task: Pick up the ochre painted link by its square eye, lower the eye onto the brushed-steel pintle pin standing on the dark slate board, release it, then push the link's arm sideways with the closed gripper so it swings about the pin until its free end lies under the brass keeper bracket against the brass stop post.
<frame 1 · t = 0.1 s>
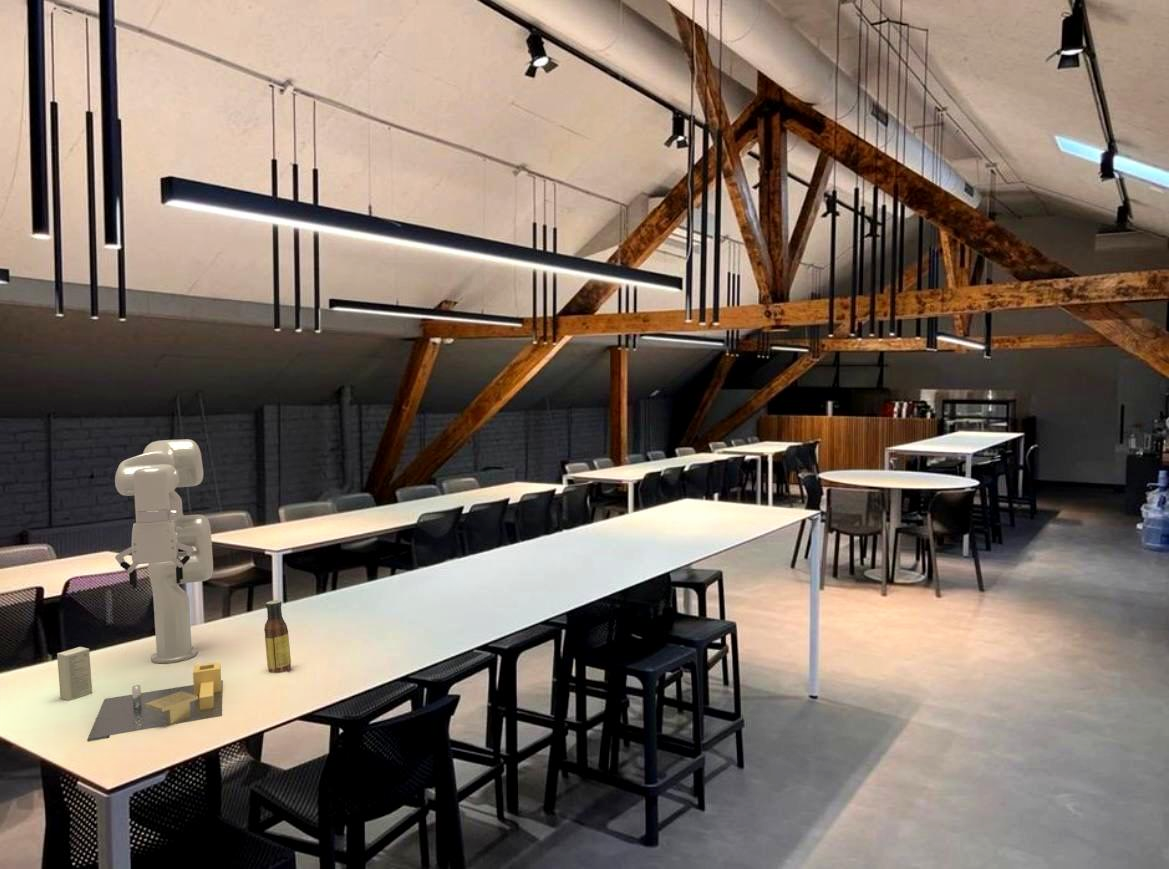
hand: (157, 585, 202), 31 cm above the table, fingers open, 9 cm apart
skincare box: (76, 696, 214), on the table
pintle board: (164, 704, 206), on the table
sauce bottle: (279, 671, 229), on the table
link: (206, 708, 200), resting on pintle board
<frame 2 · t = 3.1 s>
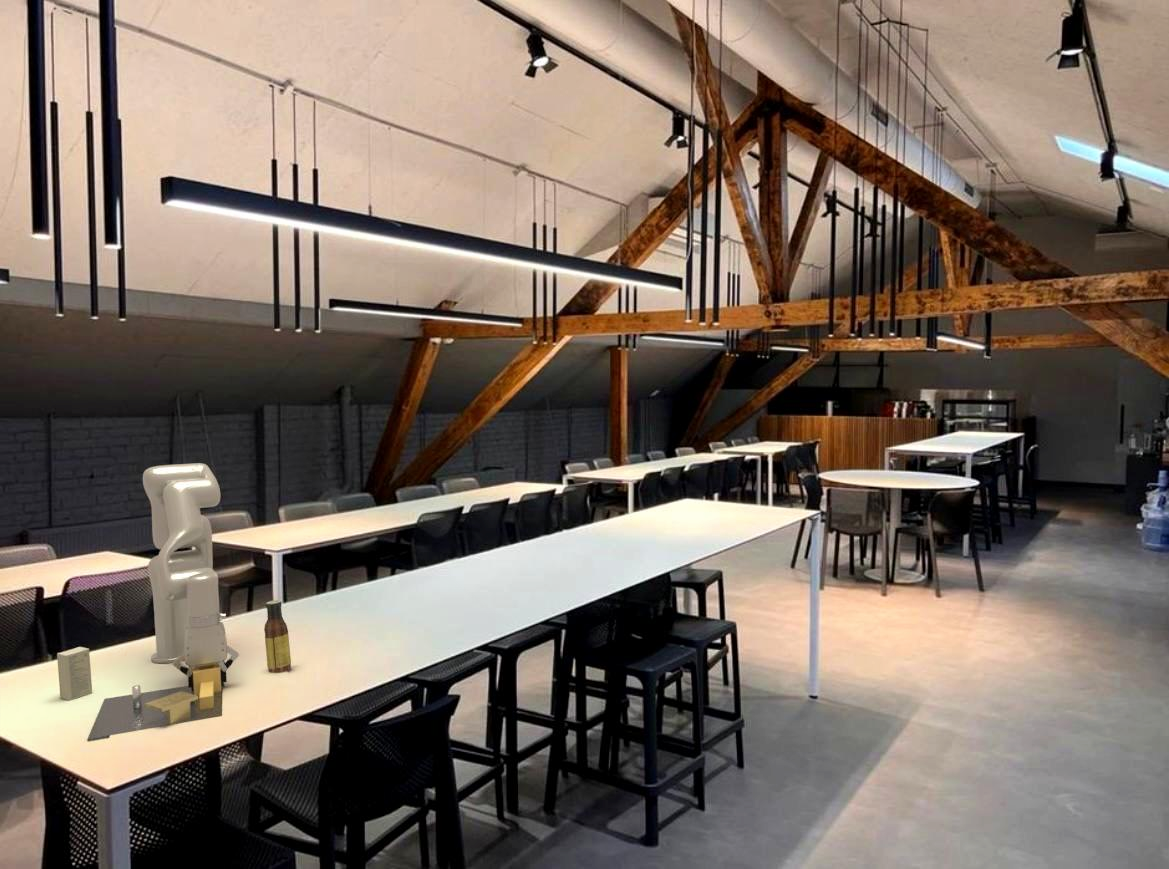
hand: (207, 686, 214), 1 cm above the table, fingers closed on link, 6 cm apart
link: (206, 708, 200), resting on pintle board, touching gripper
everything else where it was.
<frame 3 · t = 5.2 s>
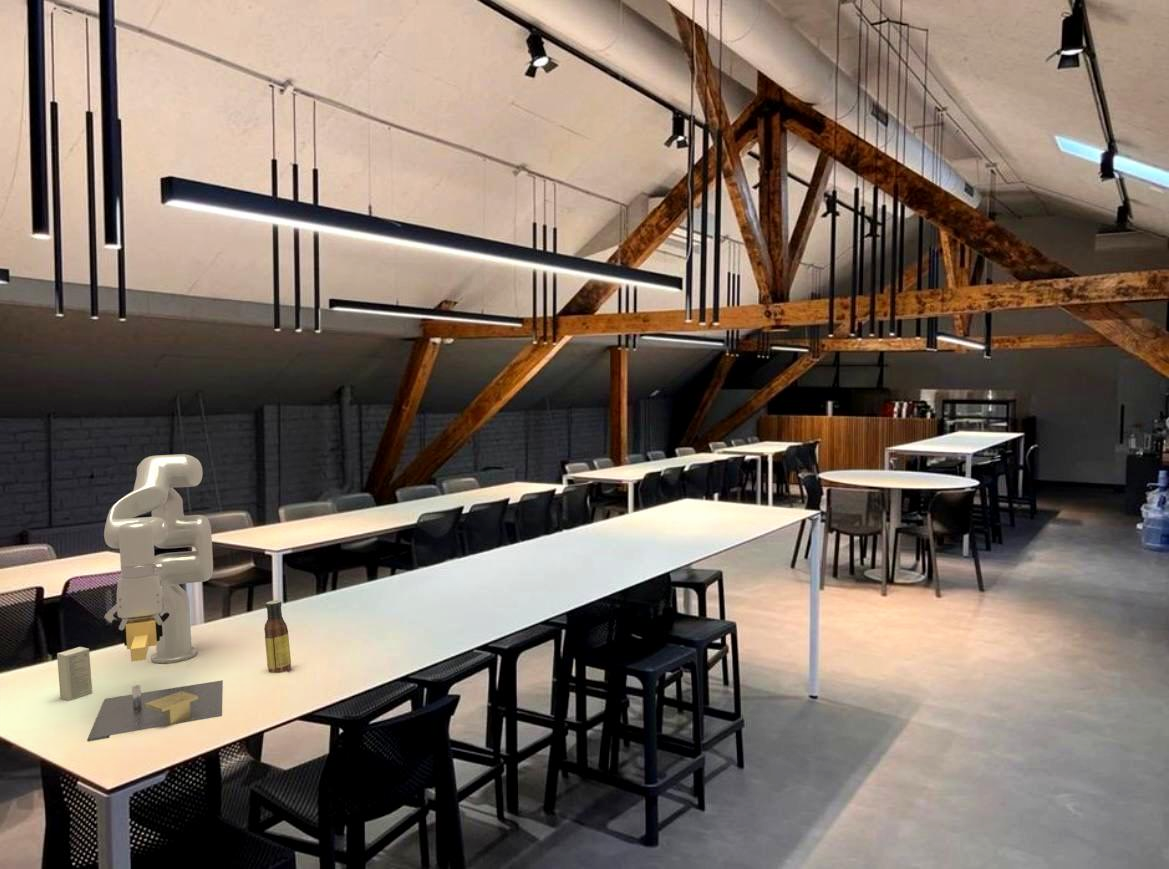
hand: (142, 641, 204), 17 cm above the table, fingers closed on link, 6 cm apart
link: (138, 660, 190), point 16 cm above the table, touching gripper
everything else where it was.
when the fingers open (2 cm above the table, at t = 7.8 s): link stays where it is, resting on pintle board.
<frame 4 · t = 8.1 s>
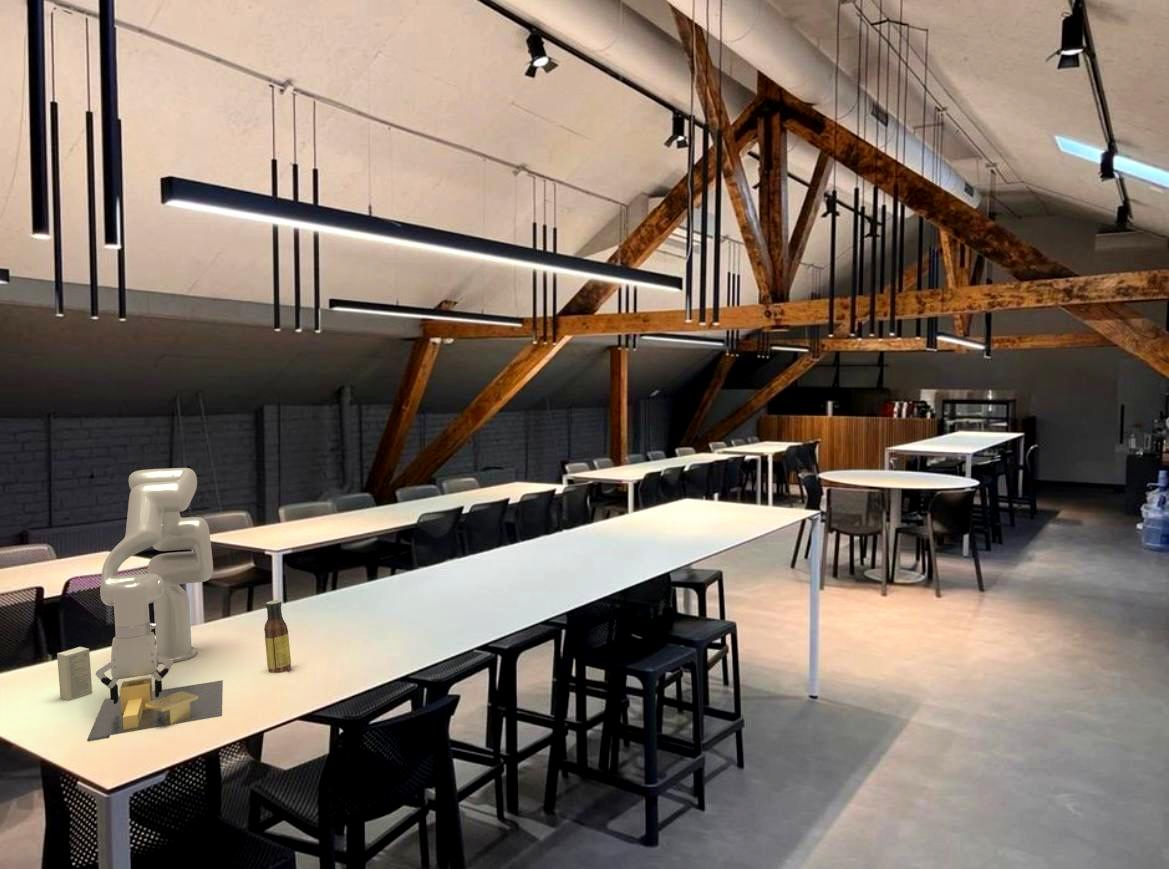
hand: (136, 698, 203), 3 cm above the table, fingers open, 8 cm apart
link: (130, 728, 189), resting on pintle board
everything else where it was.
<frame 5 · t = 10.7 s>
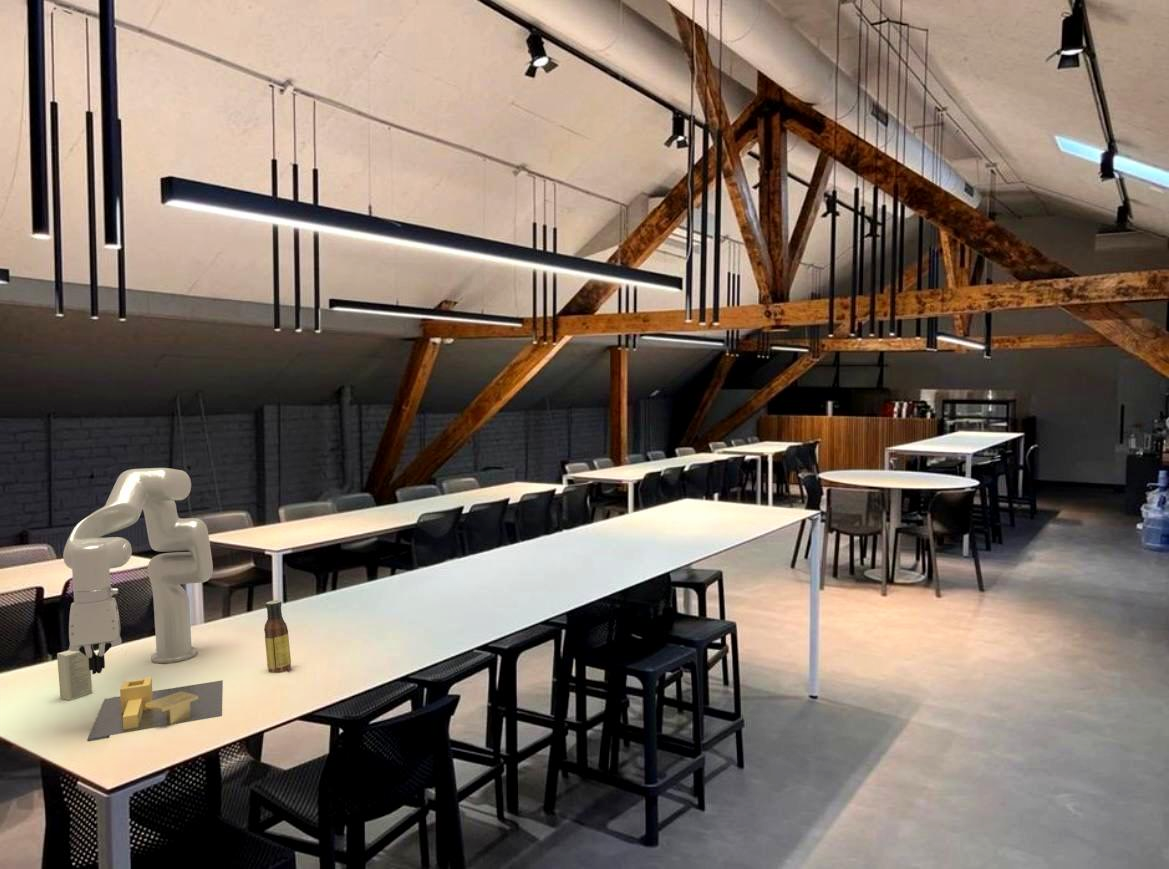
hand: (97, 671, 192), 13 cm above the table, fingers closed
nothing on the table moved.
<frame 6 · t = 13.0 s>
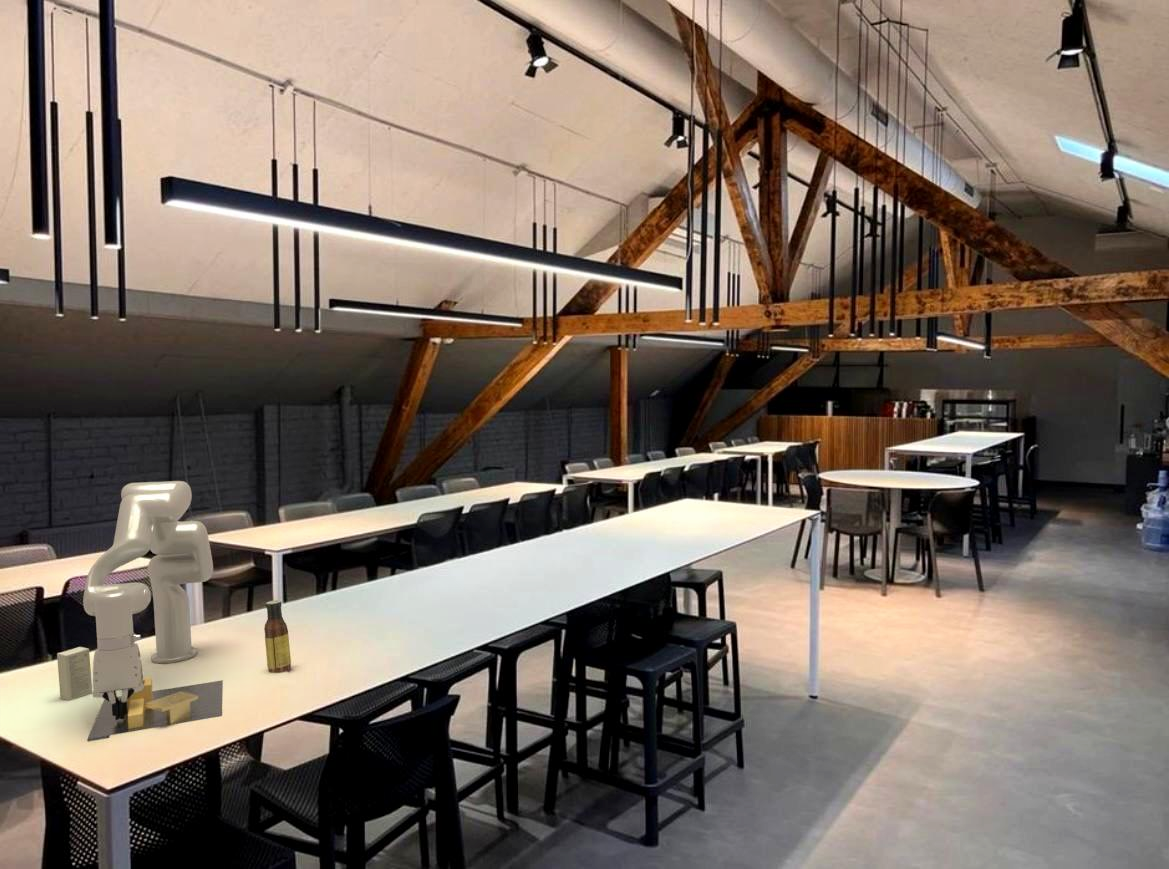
hand: (120, 717, 194), 1 cm above the table, fingers closed
link: (135, 727, 190), point 1 cm above the table, touching gripper, pintle board
everything else where it was.
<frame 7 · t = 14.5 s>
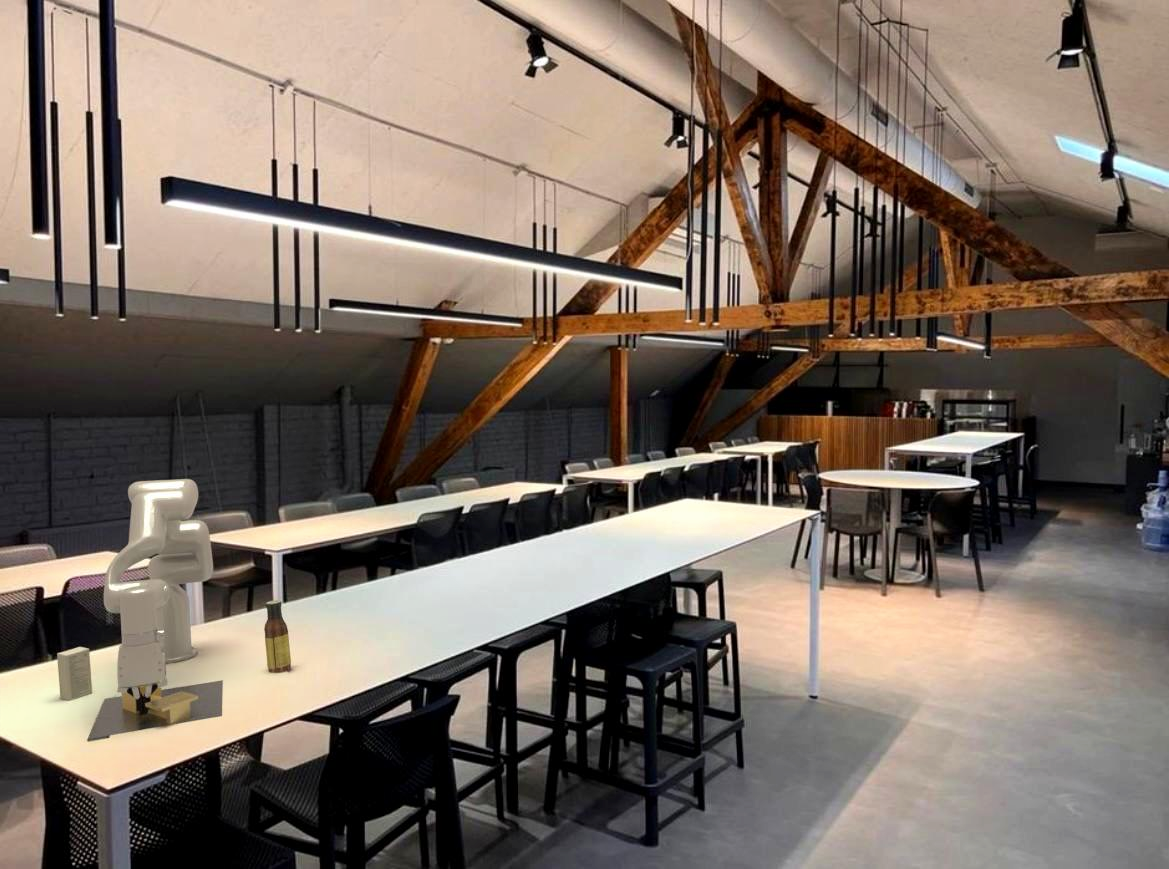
hand: (144, 712, 196), 2 cm above the table, fingers closed
link: (175, 717, 195), resting on pintle board, touching gripper
everything else where it was.
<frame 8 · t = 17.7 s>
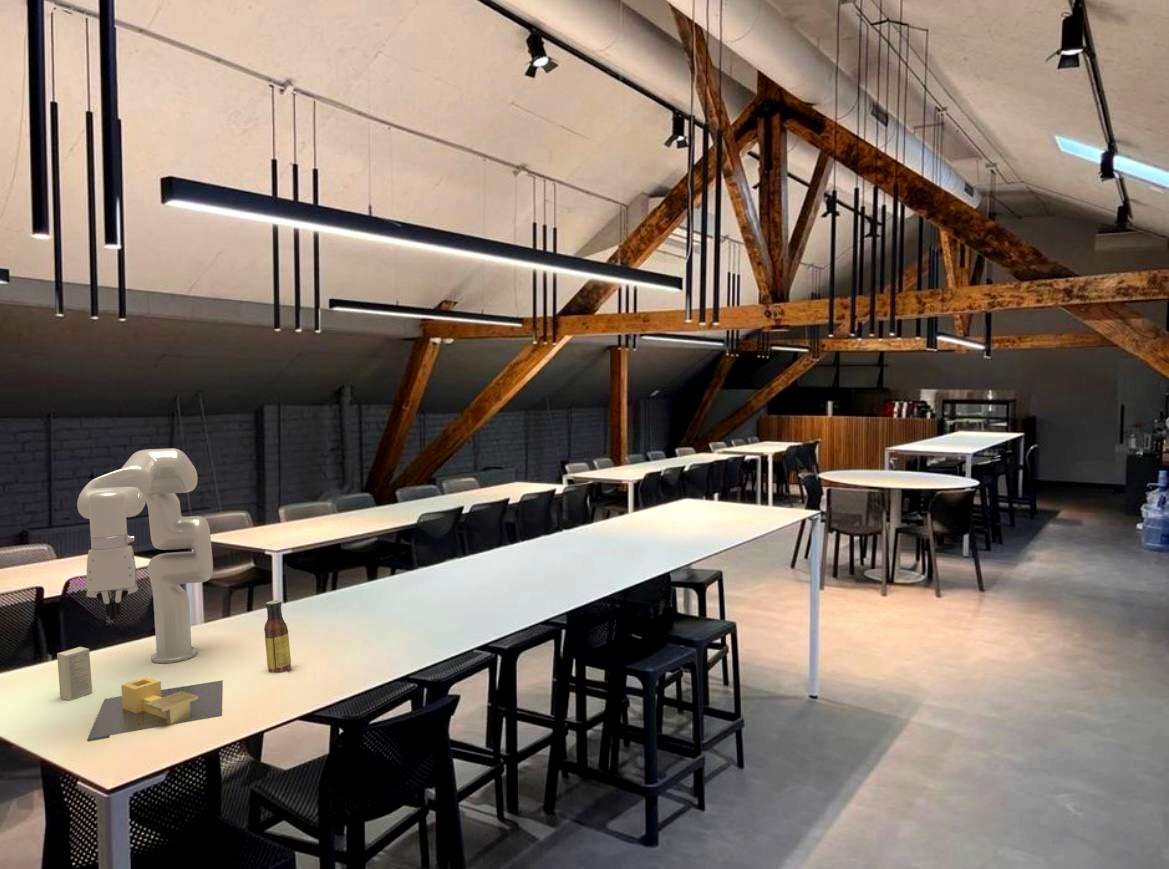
hand: (114, 618, 194), 25 cm above the table, fingers closed
link: (175, 717, 195), resting on pintle board
everything else where it was.
at the end: link 0.6 cm from the target spot, point 0.5 cm above the table; link tilted 0°; the gripper is holding nothing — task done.
